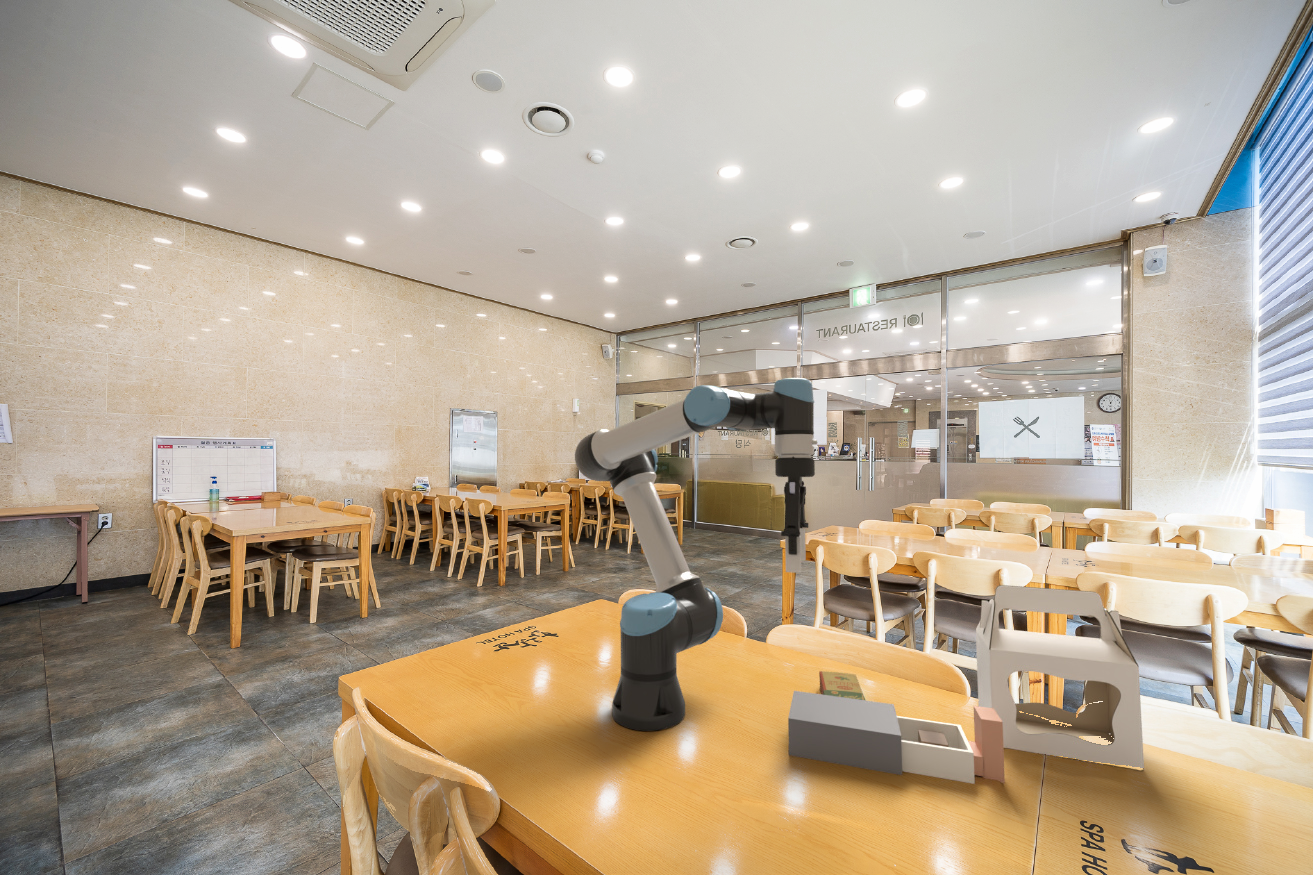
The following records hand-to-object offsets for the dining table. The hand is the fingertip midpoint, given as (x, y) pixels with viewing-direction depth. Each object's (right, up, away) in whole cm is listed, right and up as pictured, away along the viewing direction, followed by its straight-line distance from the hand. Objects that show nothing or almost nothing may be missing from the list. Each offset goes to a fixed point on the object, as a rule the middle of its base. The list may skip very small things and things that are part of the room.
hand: (796, 565), depth 102 cm
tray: (+19, -31, -13) cm, 38 cm away
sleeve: (+6, -31, -8) cm, 33 cm away
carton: (+13, -33, +10) cm, 37 cm away
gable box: (+47, -32, -5) cm, 57 cm away
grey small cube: (+20, -30, -13) cm, 38 cm away
